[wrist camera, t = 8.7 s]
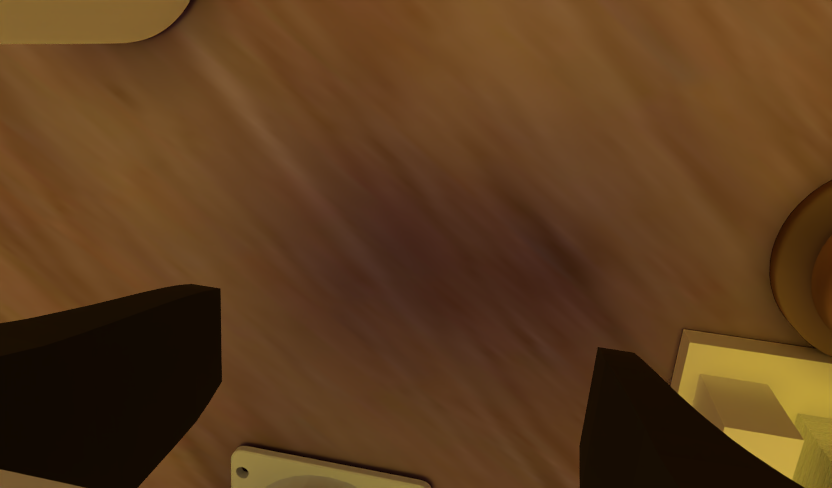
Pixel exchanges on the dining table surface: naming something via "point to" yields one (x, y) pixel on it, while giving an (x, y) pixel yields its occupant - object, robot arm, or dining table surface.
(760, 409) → the notch board
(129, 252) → the dining table surface
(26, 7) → the can
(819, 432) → the tab
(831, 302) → the bobbin
